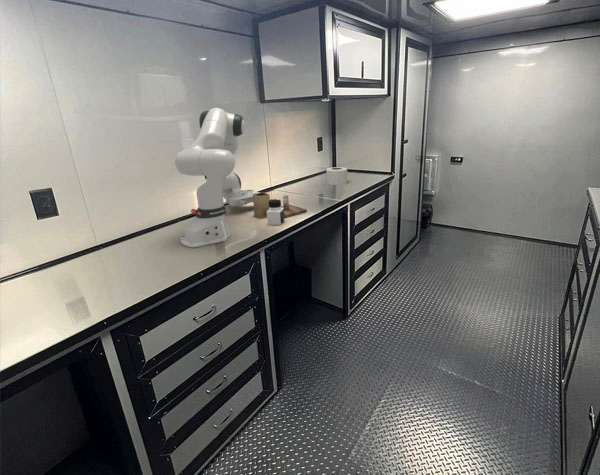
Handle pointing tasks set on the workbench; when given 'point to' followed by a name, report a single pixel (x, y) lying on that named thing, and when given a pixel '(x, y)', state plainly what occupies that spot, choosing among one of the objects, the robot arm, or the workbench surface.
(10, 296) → the workbench surface
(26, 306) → the workbench surface
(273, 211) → the medicine bottle
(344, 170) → the white paper roll
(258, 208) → the sleeve
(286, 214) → the post board
